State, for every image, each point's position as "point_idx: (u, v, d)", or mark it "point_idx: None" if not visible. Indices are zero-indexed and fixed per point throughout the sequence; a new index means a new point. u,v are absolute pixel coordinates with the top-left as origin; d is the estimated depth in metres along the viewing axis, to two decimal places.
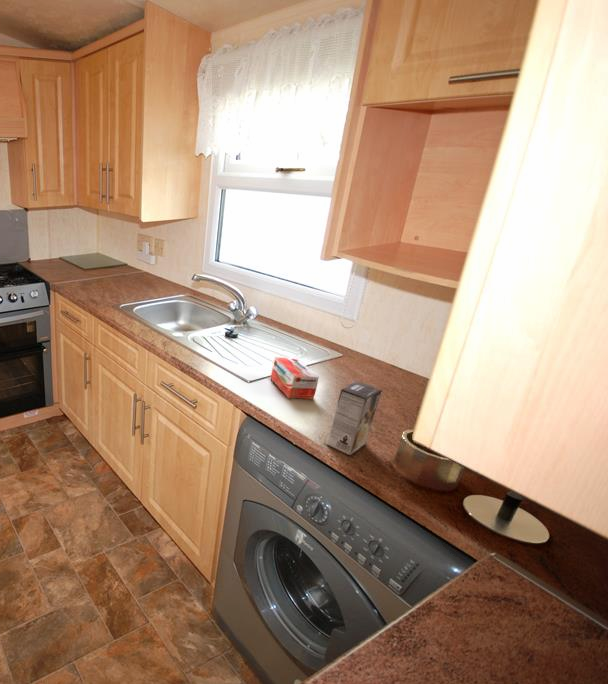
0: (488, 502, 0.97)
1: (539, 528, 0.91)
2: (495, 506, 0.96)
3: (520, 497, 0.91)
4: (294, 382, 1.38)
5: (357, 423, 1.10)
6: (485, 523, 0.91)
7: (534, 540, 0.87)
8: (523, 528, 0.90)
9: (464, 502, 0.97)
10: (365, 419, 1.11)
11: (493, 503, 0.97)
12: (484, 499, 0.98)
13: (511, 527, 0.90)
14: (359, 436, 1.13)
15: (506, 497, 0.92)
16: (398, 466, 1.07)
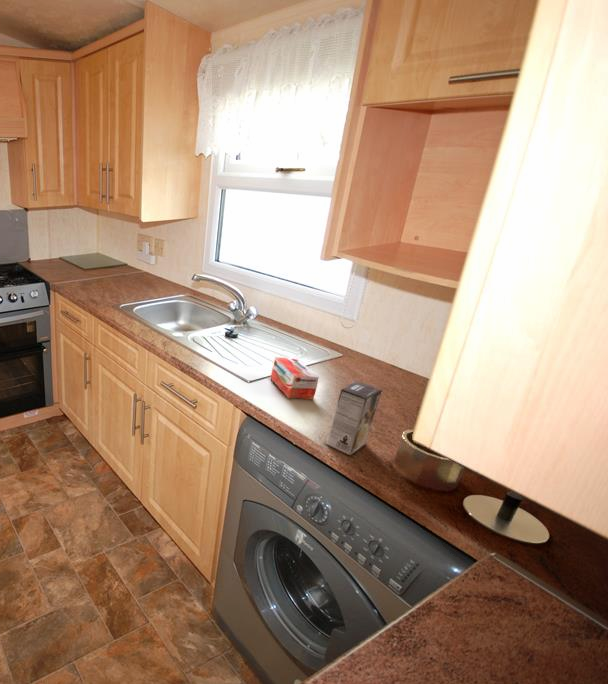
0: (488, 502, 0.97)
1: (539, 528, 0.91)
2: (495, 506, 0.96)
3: (520, 497, 0.91)
4: (294, 382, 1.38)
5: (357, 423, 1.10)
6: (485, 523, 0.91)
7: (534, 540, 0.87)
8: (523, 528, 0.90)
9: (464, 502, 0.97)
10: (365, 419, 1.11)
11: (493, 503, 0.97)
12: (484, 499, 0.98)
13: (511, 527, 0.90)
14: (359, 436, 1.13)
15: (506, 497, 0.92)
16: (398, 466, 1.07)
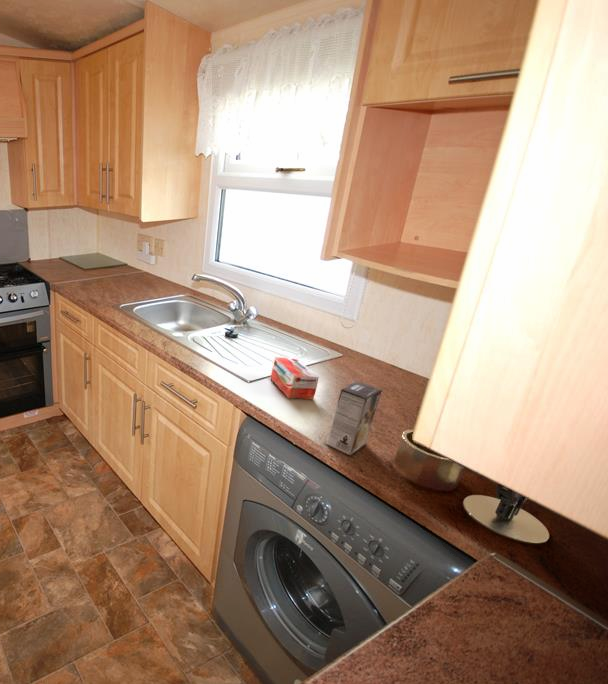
0: (488, 502, 0.97)
1: (539, 528, 0.91)
2: (495, 506, 0.96)
3: (520, 497, 0.91)
4: (294, 382, 1.38)
5: (357, 423, 1.10)
6: (485, 523, 0.91)
7: (534, 540, 0.87)
8: (523, 528, 0.90)
9: (464, 502, 0.97)
10: (365, 419, 1.11)
11: (493, 503, 0.97)
12: (484, 499, 0.98)
13: (511, 527, 0.90)
14: (359, 436, 1.13)
15: None
16: (398, 466, 1.07)
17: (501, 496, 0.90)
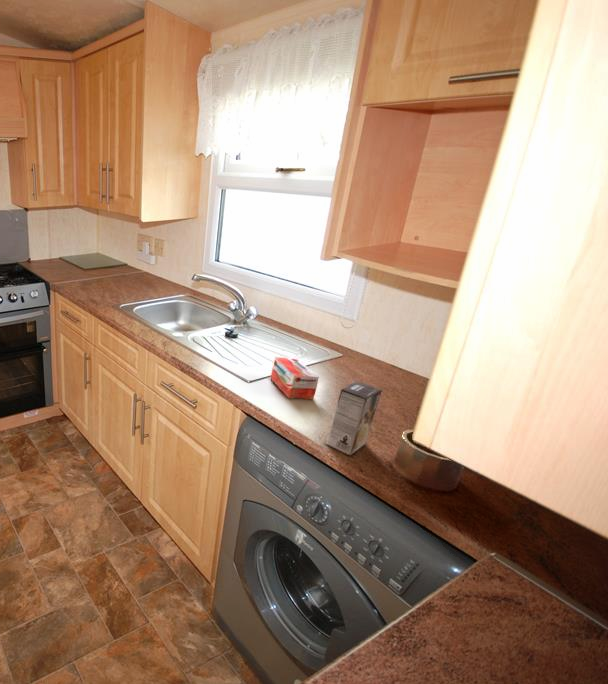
0: None
1: None
2: None
3: None
4: (294, 382, 1.38)
5: (357, 423, 1.10)
6: None
7: None
8: None
9: None
10: (365, 419, 1.11)
11: None
12: None
13: None
14: (359, 436, 1.13)
15: None
16: (398, 466, 1.07)
17: None
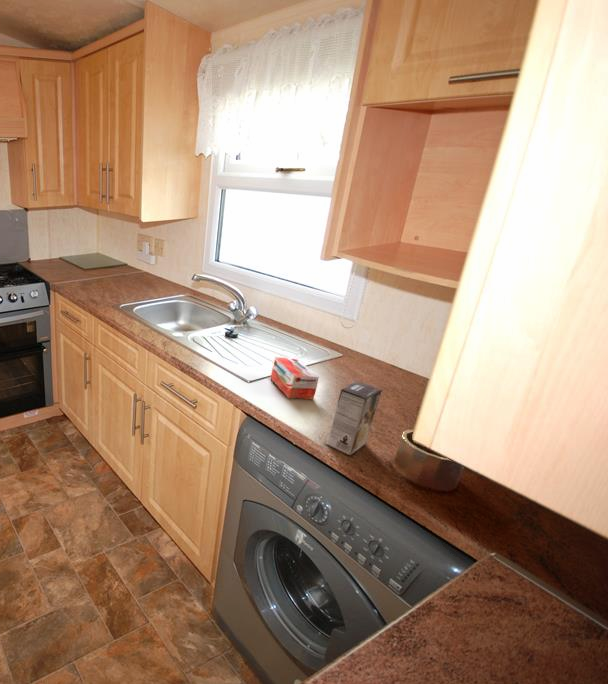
0: None
1: None
2: None
3: None
4: (294, 382, 1.38)
5: (357, 423, 1.10)
6: None
7: None
8: None
9: None
10: (365, 419, 1.11)
11: None
12: None
13: None
14: (359, 436, 1.13)
15: None
16: (398, 466, 1.07)
17: None
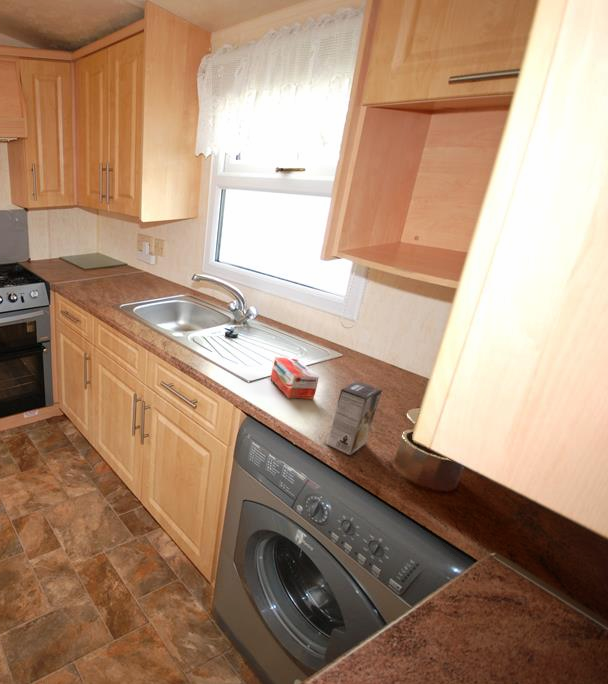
0: None
1: None
2: None
3: None
4: (294, 382, 1.38)
5: (357, 423, 1.10)
6: None
7: None
8: None
9: None
10: (365, 419, 1.11)
11: None
12: None
13: None
14: (359, 436, 1.13)
15: None
16: (398, 466, 1.07)
17: None
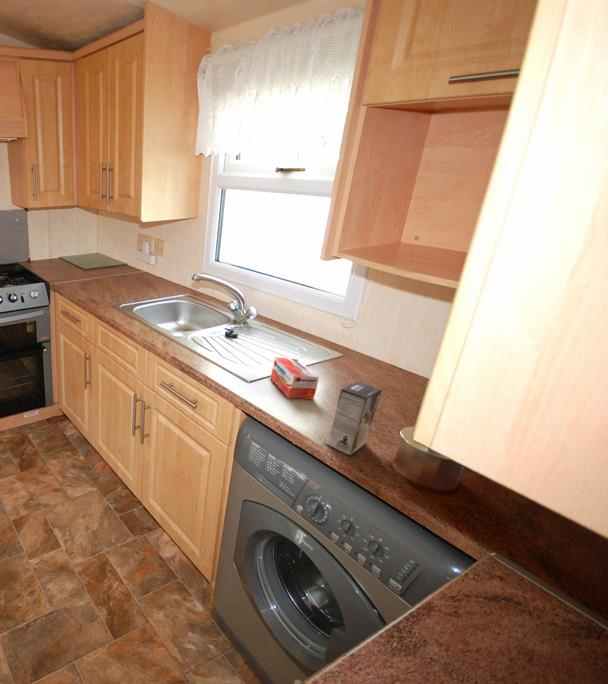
0: None
1: None
2: None
3: None
4: (294, 382, 1.38)
5: (357, 423, 1.10)
6: (416, 446, 1.02)
7: None
8: None
9: (401, 431, 1.08)
10: (365, 419, 1.11)
11: None
12: None
13: None
14: (359, 436, 1.13)
15: None
16: (398, 466, 1.07)
17: None
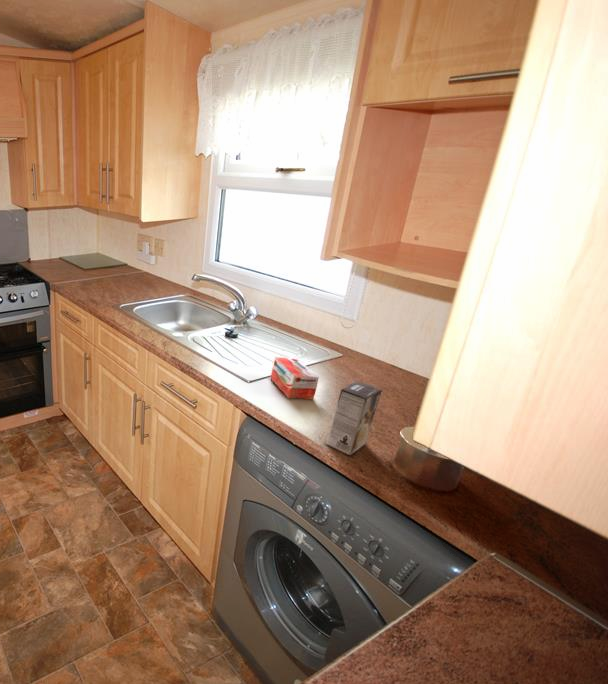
0: None
1: None
2: None
3: None
4: (294, 382, 1.38)
5: (357, 423, 1.10)
6: (416, 446, 1.02)
7: None
8: None
9: (401, 431, 1.08)
10: (365, 419, 1.11)
11: None
12: None
13: None
14: (359, 436, 1.13)
15: None
16: (398, 466, 1.07)
17: None
